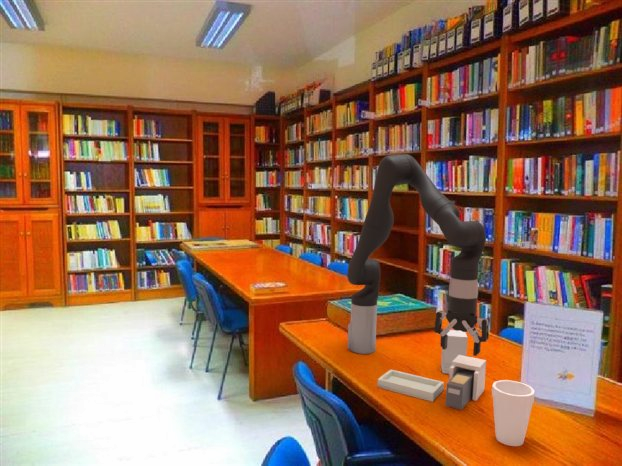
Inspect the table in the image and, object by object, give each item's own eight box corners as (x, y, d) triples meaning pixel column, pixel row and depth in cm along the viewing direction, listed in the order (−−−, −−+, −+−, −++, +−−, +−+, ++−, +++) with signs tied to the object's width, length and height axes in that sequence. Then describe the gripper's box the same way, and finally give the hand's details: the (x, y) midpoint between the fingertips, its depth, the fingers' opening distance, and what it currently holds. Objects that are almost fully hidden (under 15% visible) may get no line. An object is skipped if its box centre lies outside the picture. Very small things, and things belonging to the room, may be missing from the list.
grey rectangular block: (444, 407, 141) (445, 384, 140) (459, 390, 153) (460, 368, 152) (460, 411, 139) (462, 388, 138) (474, 393, 150) (475, 372, 150)
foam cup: (526, 454, 118) (530, 399, 116) (485, 442, 123) (488, 390, 121) (533, 436, 126) (537, 385, 124) (494, 426, 131) (497, 377, 129)
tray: (377, 387, 153) (377, 379, 153) (390, 377, 161) (390, 369, 161) (432, 401, 144) (433, 393, 144) (443, 390, 152) (443, 382, 152)
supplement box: (465, 375, 164) (468, 337, 162) (441, 373, 165) (443, 335, 164) (463, 367, 171) (465, 330, 169) (440, 365, 172) (442, 328, 171)
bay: (448, 393, 149) (449, 363, 148) (457, 383, 157) (459, 354, 156) (476, 400, 145) (478, 369, 144) (484, 390, 153) (486, 360, 152)
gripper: (433, 293, 140) (430, 350, 142) (486, 300, 133) (482, 361, 134) (441, 288, 147) (439, 343, 148) (493, 295, 139) (489, 353, 141)
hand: (459, 351), depth 141 cm, fingers open, 8 cm apart
